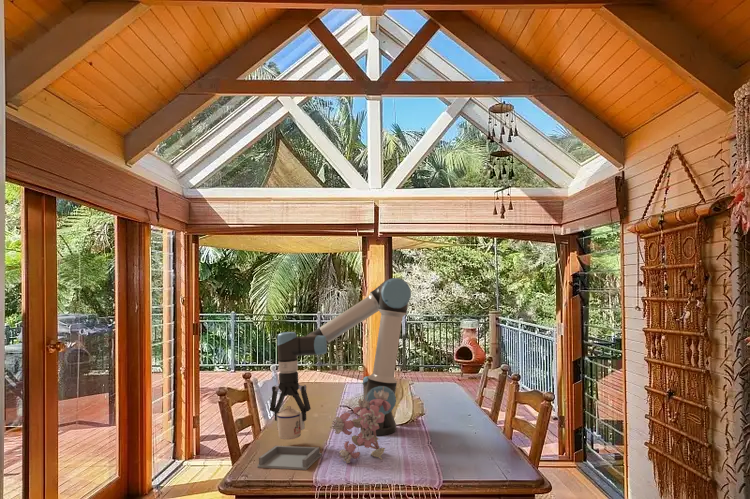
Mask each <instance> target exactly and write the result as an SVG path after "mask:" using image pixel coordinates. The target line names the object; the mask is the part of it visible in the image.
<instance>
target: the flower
mask: <svg viewBox="0 0 750 499" xmlns="http://www.w3.org/2000/svg"><path fill="white" fill-rule="evenodd" d="M383 390H384V387H383ZM383 390H381V393H380V391H379V392H377V393H376V391H374V397H375V398H376V399H374V400H371V401H370V402H369V401H368V402H367V400H365V399H364V398H363V399H362V398H359V399H358V401H357V403H358V406H356V407H354V408H353V409H352V412H353V414H354V415H356V414H357V413H359V417H358V418H356V417H355V418H353V419H352V420H351V419H350V420H348V419H349V417H351V414H350V413H349V412H343V413H341V415H339V416H335V418H334V419H335V420H332V421H331V422H332V423H331V424H332V425H331V426H330V428H331V429H333V432H334V433H335V434H337V435H339V434H340V433H343V434H344V435H347V436H351V435H352V434H353V431H349V430H352V429H353V428H357V429H360V432H359V433H358V435H355V434H354V435H352V436H351V442H352V443H350V441H348V440H347V441H345V442H344V444H343V446H344V449H341V450H339V452H338V454H340V455H339V457H340V458H339V459H340V461H341V460H343V462H345V463H346V464H350V463H351V459H356V460H357V459H359V458H360V456H361V453H360V451H359V452H358V451H357V452H355V450H356V448H357V447H363V446H364V448H366V449H369V448H370V449H374V450H372V451H371V453H370V457H372V456H373V457H374V458H379V459H380V460H381V461H383V457H382V455H383V454H384V453H385V449H386V448H385V447H381V448H380V444H379V442H378V440H380V438H379V437H377V435H376V430H377V429H379V428H380V427H379V425H378V424H377V423H382V422H384V417H385V414H383V413H382V412H379V409H380V407H381V406H382V405H383V407H384V410H385V411H388V410H389V409H390V408H391V405H390V404H389V402H387V401H385V400H387V399H388V396H389V393H388V392H384V391H383ZM367 399H368V396H367ZM373 403H374V404H373ZM372 404H373V405H372ZM368 408H370V410H368ZM368 427H369V428H370V431H368V429H369V428H368ZM364 428H365V429H366V431H365V430H364ZM361 429H362V430H361ZM372 431H373V435H371V434H372Z"/></svg>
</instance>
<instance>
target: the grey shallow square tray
mask: <svg viewBox="0 0 750 499" xmlns="http://www.w3.org/2000/svg"><path fill="white" fill-rule="evenodd" d="M320 451H321V450H320V446H319V447H318V446H317V447H314V446H296V445H295V446H293V445H275V446H273V447H272V448H270V449H268V450H267V451H266V452H265V453H263V454H262V455H261V456H259V457H258V464H257V468H261V469H279V470H280V469H281V470H282V469H284V470H303V471H306V470H308V469H309V468H310V467H311V466H312V465H313V464H314V463H315V462H316V461H317V460H319V459H320V458H321V457H322V455H323V454H322V453H323V452H320Z"/></svg>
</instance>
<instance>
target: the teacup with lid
mask: <svg viewBox="0 0 750 499" xmlns="http://www.w3.org/2000/svg"><path fill="white" fill-rule="evenodd" d="M300 413H301V411H300V410H297V409H294V408H292V405H288V406H285V409H283V410H282V411H279V413H278V415H277V417H278V430H277V432H278V438H279V439H281V440H294V439H297V438H300V437H301V436H302V435H301V434H302V430H300Z"/></svg>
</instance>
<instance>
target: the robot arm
mask: <svg viewBox="0 0 750 499" xmlns="http://www.w3.org/2000/svg"><path fill="white" fill-rule="evenodd" d="M411 296H412V291H411V288H410V285H409V284H408V283H407V282H406V281H405V280H404V279H402V278H398V277H397V278H396V277H393V278H387V279H386V280H384V281H383V282H382V283H380V285H378V286H377V287H376V288H375V289H373V290H372V291H370V292H369V295H368V296H366V297H365V298H363V299H362V300H360V301H358V302H357V303H356V304H354V305H353V306H351V307H349V308H348V309H346V310H345V311H344V312H342V313H340V314H338V315H337V316H335V317H334V318H332V319H330V320H329V321H328V322H326V323H324V324H323V325H322V326H319V327H318V328H316V329H315V330H314V331H311V332H309V333H308V334H307V335H305V336H297V333H296V331H284V332H280V333H278V334H277V344H276V345H277V362H278V372H279V373H278V381H279V383H278V385H276V384H275V385H274V386H272V387H271V391H272V392H271V394H272V395H271V400H270V406H269V411H270V412H272V413H274V421H275V422H276V430H277V431H278V417H277V415H278V413H279V412H281V406H282V405H283V403H284V400H285V397H286V396H288V397H289V396H291V397H292V398H293V399H294V400H295V402H296V404H297V406H298V408H299V411H300V430H301V431H303V430H305V429H306V426H305V422H306V420H307V412H309V411H311V409H312V408H311V404H310V400H309V397H308V394H307V385H306V384H303V385H301V384H299V373H298V372H299V371H298V369H299V365H298V357H300V356H320V355H325V354H327V353H328V346H327V345H328V344H329V343H330V342H332V341H334V340H335V339H337V338H339V337H340V336H342V335H343V334H345V333H347V332H348V331H350V330H351V329H352V328H354V327H356V326H357V325H358V324H361V323H362V322H363V321H365V320H367V319H369V318H370V317H371V316H373V315H374V314H376V313H377V312H379V313H380V320H379V321H380V322H379V328H378V335H377V340H376V341H377V342H376V348H375V353H374V354H375V355H374V361H373V362H374V363H373V370H372V373H371V374H370V375H368V376H367V375H366V376H363V379H362V386H363V399H365V400H367V402H368V401H369V402H370V401H371V400H374V399H376V398H375V397H374V391H376V393H377V392H379V391H380V393H381V390H383V387H384V390H383V391H384V392H388V393H389V396H388V399H387V400H385V401H387V402H389V404H390V405H391V408H390V409H389V410H388V411H385V410H384V407H383V405H382V406H381V407H380V409H379V412H382V413H383V414H385V417H384V422H382V423H377V424H378V425H379V427H380V428H379V429H377V430H376V436H385V435H390V434H393V433H395V432H396V431H397V424H396V420H395V417H394V415H393V412H392V411H393V410H394V408H395V406H396V403H397V399H396V398H397V397H396V392H397V391H396V390H397V384H398V381H397V379H396V378H395V370H396V363H397V358H398V357H397V356H398V348H399V342H400V336H401V330H402V322H403V317H404V316H406V315H407V311H408V307H409V302H410V301H411V298H412V297H411ZM279 390H280V395H279V398H278V393H279V392H278V391H279ZM298 390H299V391H300V394H301V396H300V394H299V391H298ZM367 396H368V399H367ZM301 398H302V399H301ZM277 399H278V400H277ZM373 404H374V403H373ZM373 404H372V405H373ZM368 410H370V408H368ZM368 428H369V427H368ZM361 430H362V429H361V428H360V431H361ZM364 430H365V431H366V429H365V428H364ZM368 431H370V428H369V429H368ZM371 435H373V431H372V434H371ZM373 436H374V435H373Z"/></svg>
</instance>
